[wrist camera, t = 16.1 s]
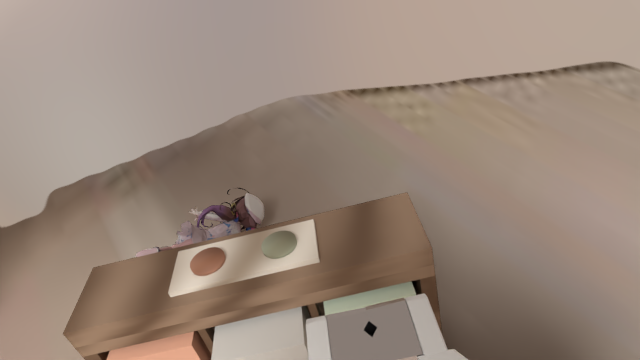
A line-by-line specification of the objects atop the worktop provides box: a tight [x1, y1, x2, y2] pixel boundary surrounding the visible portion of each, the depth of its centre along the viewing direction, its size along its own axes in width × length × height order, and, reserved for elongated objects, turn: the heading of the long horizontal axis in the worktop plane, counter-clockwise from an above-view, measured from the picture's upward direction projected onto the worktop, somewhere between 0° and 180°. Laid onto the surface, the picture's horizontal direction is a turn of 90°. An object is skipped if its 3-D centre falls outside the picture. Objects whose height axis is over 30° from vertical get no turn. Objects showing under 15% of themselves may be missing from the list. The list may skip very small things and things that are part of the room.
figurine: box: [136, 188, 264, 257], centre depth 50 cm, size 12×9×15 cm
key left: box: [107, 327, 215, 360], centre depth 33 cm, size 6×4×6 cm
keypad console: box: [63, 193, 442, 360], centre depth 35 cm, size 24×6×15 cm, turn 96°
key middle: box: [211, 306, 310, 360], centre depth 32 cm, size 6×4×6 cm
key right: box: [323, 281, 416, 315], centre depth 33 cm, size 6×4×6 cm
